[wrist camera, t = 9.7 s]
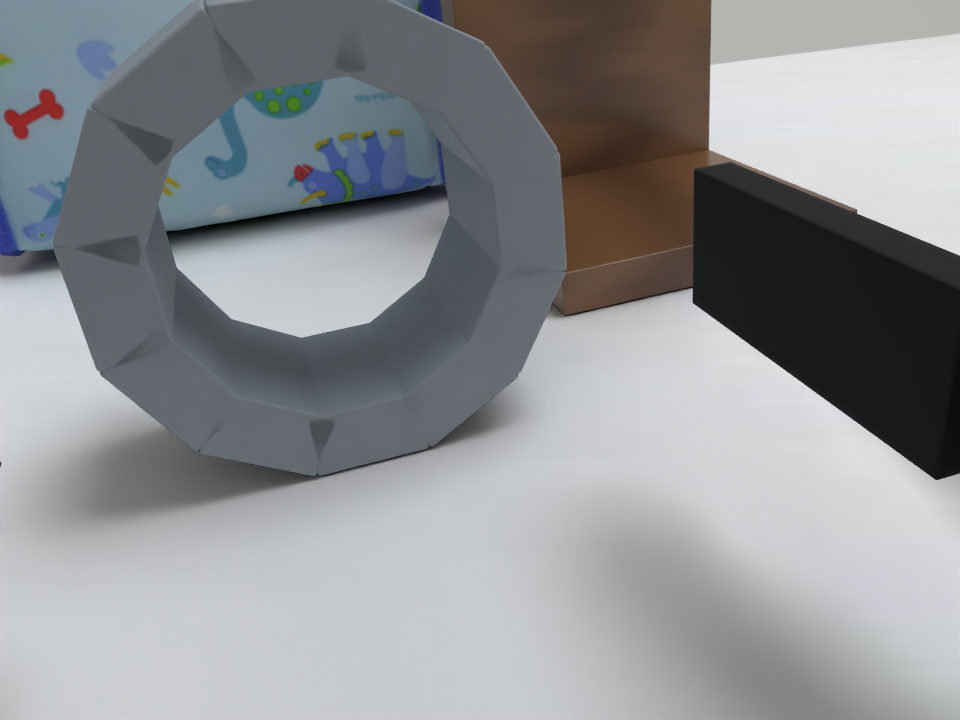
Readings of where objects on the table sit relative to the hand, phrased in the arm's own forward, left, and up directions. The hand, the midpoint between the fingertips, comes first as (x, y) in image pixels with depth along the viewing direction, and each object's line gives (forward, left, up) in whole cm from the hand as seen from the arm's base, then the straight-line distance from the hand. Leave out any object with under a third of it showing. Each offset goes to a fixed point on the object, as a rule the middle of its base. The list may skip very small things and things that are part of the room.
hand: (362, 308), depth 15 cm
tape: (+2, +6, -6) cm, 9 cm away
